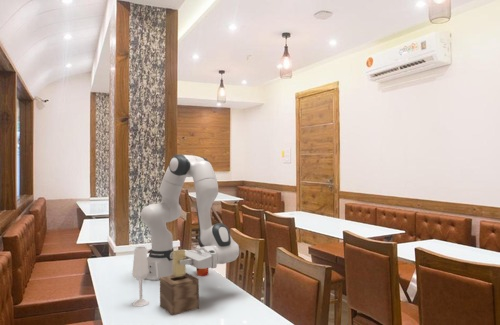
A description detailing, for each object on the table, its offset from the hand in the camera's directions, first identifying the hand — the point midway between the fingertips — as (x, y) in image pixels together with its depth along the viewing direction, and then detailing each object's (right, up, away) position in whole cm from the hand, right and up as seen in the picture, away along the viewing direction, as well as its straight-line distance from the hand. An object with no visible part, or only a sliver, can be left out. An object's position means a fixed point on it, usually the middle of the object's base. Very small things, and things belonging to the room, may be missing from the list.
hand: (177, 261), depth 157 cm
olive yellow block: (+1, -5, +1) cm, 6 cm away
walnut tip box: (+1, -19, +1) cm, 19 cm away
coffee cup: (+5, -19, +47) cm, 51 cm away
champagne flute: (-17, -19, +5) cm, 26 cm away
